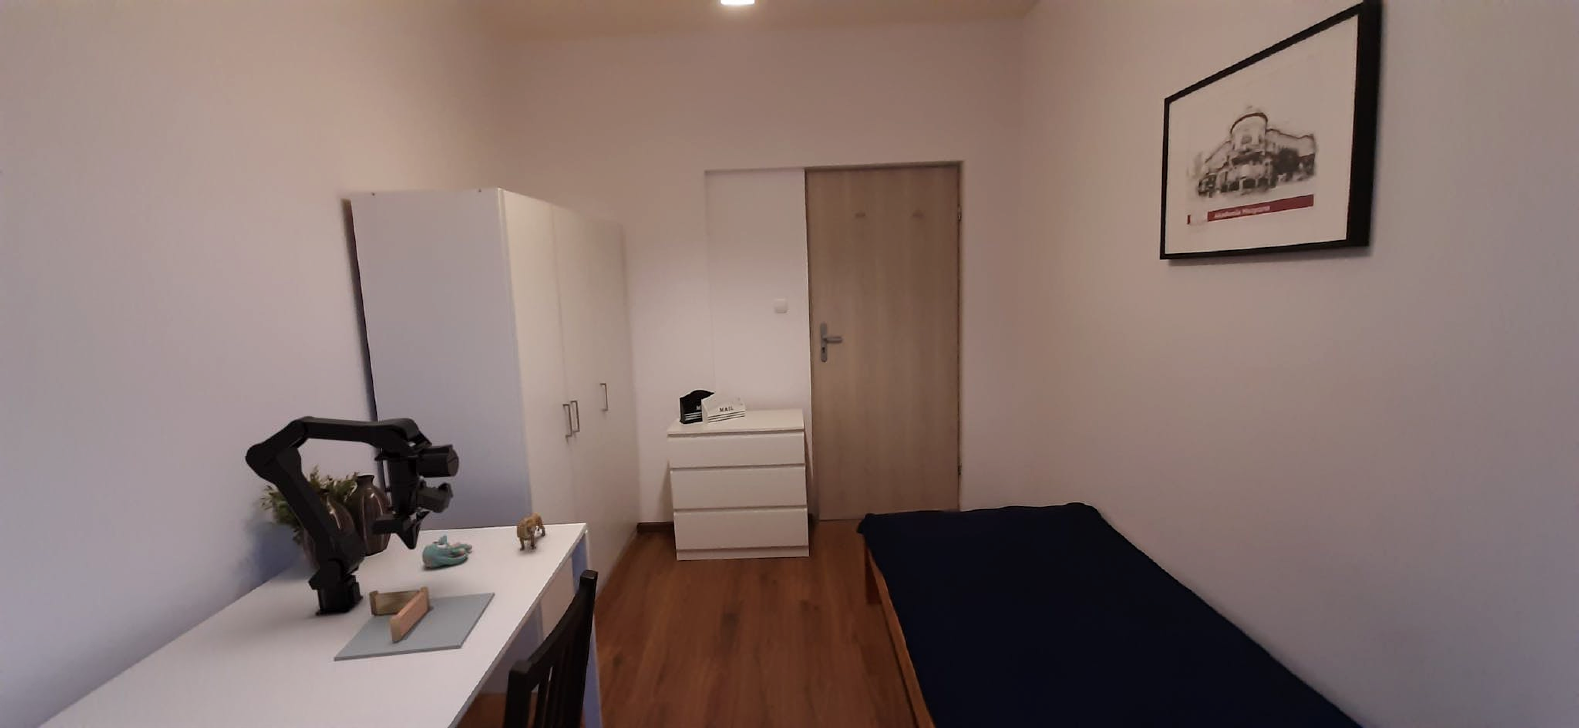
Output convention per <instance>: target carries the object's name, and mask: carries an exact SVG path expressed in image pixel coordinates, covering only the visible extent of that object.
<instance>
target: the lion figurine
mask: <svg viewBox="0 0 1579 728" xmlns="http://www.w3.org/2000/svg"><path fill="white" fill-rule="evenodd" d="M543 524H544V523H543V520H542V516H541V515H539V514H537V513H535V514H531V515H530V516H529V517H528V518H527V517H525V518H522V519H521V520H520V521H518V524H517V526H516V537H517V538H518V539H519V542H520V548H519V551H520V552H523V551H525V550H526V545H525V542H527V541H530V544H529V545H530V546H529V547H530V549H531V550H534V549H537V546H536V544H535V542H536V541H535V539H536V537H535V534H536V532H538V533H539V532H540V530H541V534H540V535H541V536H542V537H543V536H544V537H545V536H546V534H547V533H546V528H545V526H544V525H543Z"/></svg>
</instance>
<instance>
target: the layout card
mask: <svg viewBox="0 0 1579 728" xmlns="http://www.w3.org/2000/svg"><path fill="white" fill-rule="evenodd" d="M495 595H496V593H495V592H485V593H475V594H474V593H473V594H464V595H463V594H462V595H452V596H451V595H450V596H440V597H429V601H430V609H428V610H427V611H426V612H425V613H424V615H423V616H422V617H421V618H420V619H419V620H418V621H417V622H416V623H415V624H414V625H413V626H412V627H411V628H410V629H409V630H408V632H407V633H406V634H405V635H404V636H403V637H402V639H401V640H399V641H397V642H393V641H392V635H391V628H390V620H389V618H390V617H392V616H395V615H397V614H398V613H399V612H397V613H386V614H377V615H372V616H373V617H371V618H370V620H368V621H367V623H365V625H363V626H362V628H360V630H359V631H357V633H355V635H354V636H353V637H352V638H351V639H350V640H349V641H348V643H347V644H345V646H344V647H342V649H341V650H339V651H338V652H337V654H336V655H335V656H334V657H333V660H334V661H344V660H355V659H364V658H373V657H374V658H375V657H382V656H383V657H384V656H392V655H393V656H394V655H404V654H413V653H415V654H416V653H422V652H423V653H426V652H434V651H445V650H453V649H460V648H462V647H463V644H464V643H465V641H466V640H467V638H468V637H469V635H471V633H472V631H473V630H474V628H475V627H476V624H478V623H479V620H480V619H481V617H482V615H484V612H485V610H486V609H487V608H488V607H489V604H490V603H491V602H492V600H493V598H494V597H495Z"/></svg>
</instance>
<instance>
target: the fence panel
mask: <svg viewBox="0 0 1579 728" xmlns="http://www.w3.org/2000/svg"><path fill="white" fill-rule="evenodd" d="M419 590H420V593H418V594H417V595H416V596H415V597H414V598H413V599H412V600H411V601H410V602H409V603H408V604H407V605H406V606H405V607H404V608H403V609H402V610H401V611H400V612H399V613H398V614H397V615H395V616H392V617H390V618H389V620H390V628H391V635H392V641H393V642H397V641H399V640H401V639H402V637H403V636H404V635H405V634H406V633H407V632H408V630H409V629H410V628H411V627H412V626H413V625H414V624H415V623H416V622H417V621H418V620H419V619H420V618H421V617H422V616H423V615H424V613H425V612H426V611H427V610H428V609H430V601H429V598H430V594H429V593H430V592H429V587H428V586H422V587H421V588H420V589H419Z"/></svg>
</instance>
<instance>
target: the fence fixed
mask: <svg viewBox="0 0 1579 728" xmlns="http://www.w3.org/2000/svg"><path fill="white" fill-rule="evenodd" d="M418 593H421V592H420V589H415V590H414V589H411V590H401V591H390V592H389V591H388V592H380V593H379V591H378V590H373V591H370V592H369V593H368V597H369V599H368V600H369V604H370V605H369V606H370V611H371V616H374V615H377V614H386V613H397V612H400V611H401V610H402V609H403V608H404V607H405V606H406V605H407V604H408V603H409V602H410V601H411V600H412V599H413V598H414V597H415V596H416V595H417V594H418Z"/></svg>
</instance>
